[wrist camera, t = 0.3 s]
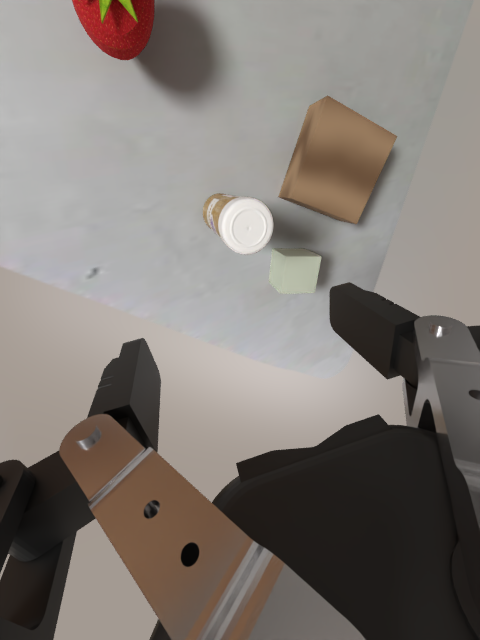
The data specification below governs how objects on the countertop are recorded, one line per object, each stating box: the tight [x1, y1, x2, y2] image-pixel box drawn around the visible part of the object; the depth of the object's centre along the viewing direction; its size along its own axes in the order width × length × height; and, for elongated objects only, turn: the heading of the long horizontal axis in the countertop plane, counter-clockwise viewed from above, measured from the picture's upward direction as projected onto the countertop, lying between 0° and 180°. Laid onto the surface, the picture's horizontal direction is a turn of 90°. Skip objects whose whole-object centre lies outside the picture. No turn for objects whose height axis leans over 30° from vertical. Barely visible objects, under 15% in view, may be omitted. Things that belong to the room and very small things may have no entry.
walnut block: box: [279, 96, 397, 224], centre depth 32 cm, size 10×10×4 cm
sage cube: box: [269, 248, 322, 294], centre depth 36 cm, size 5×5×5 cm
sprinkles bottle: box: [203, 193, 274, 255], centre depth 27 cm, size 5×5×13 cm
